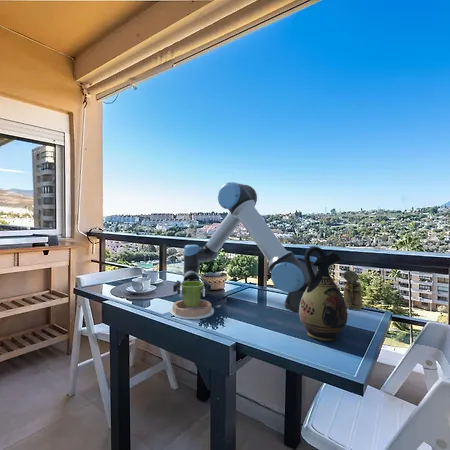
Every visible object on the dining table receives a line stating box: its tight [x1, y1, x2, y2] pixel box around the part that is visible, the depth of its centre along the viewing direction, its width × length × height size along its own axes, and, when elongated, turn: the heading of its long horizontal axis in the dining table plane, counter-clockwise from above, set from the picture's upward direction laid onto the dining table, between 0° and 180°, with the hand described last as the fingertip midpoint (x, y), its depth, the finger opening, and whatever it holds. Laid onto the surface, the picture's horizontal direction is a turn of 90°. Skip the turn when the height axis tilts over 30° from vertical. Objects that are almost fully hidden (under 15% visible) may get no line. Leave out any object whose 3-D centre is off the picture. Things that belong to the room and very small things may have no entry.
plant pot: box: [181, 281, 204, 307], centre depth 120 cm, size 9×9×9 cm
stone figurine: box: [342, 269, 364, 310], centre depth 128 cm, size 9×14×18 cm, turn 147°
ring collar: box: [169, 298, 215, 320], centre depth 120 cm, size 18×18×3 cm
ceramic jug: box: [298, 246, 349, 342], centre depth 98 cm, size 17×15×30 cm
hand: (192, 293), depth 115 cm, fingers closed on plant pot, 8 cm apart
